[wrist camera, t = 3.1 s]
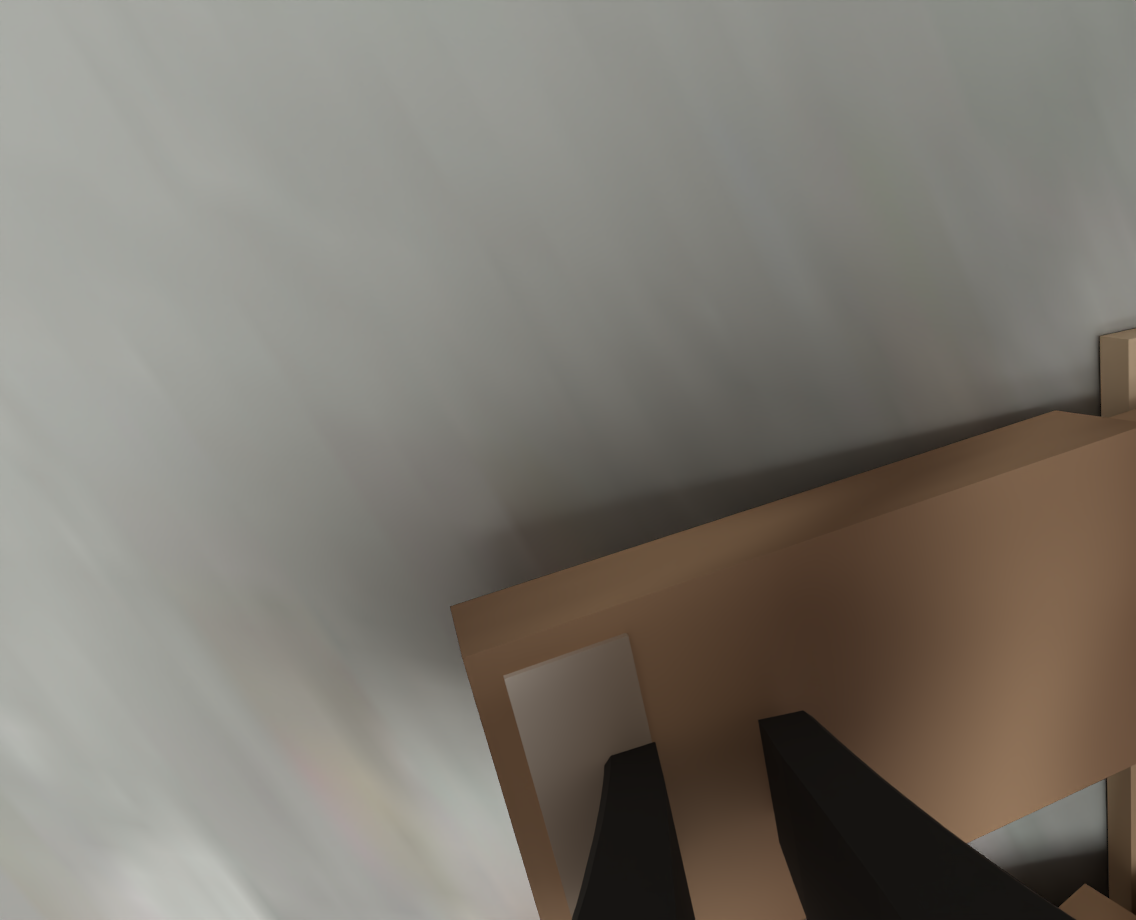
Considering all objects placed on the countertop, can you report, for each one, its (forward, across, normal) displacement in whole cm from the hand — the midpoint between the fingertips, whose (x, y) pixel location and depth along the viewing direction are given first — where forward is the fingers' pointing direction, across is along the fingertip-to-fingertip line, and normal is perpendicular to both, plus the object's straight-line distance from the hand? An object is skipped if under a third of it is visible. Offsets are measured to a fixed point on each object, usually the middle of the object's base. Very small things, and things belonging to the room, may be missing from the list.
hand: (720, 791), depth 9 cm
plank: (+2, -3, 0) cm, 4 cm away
